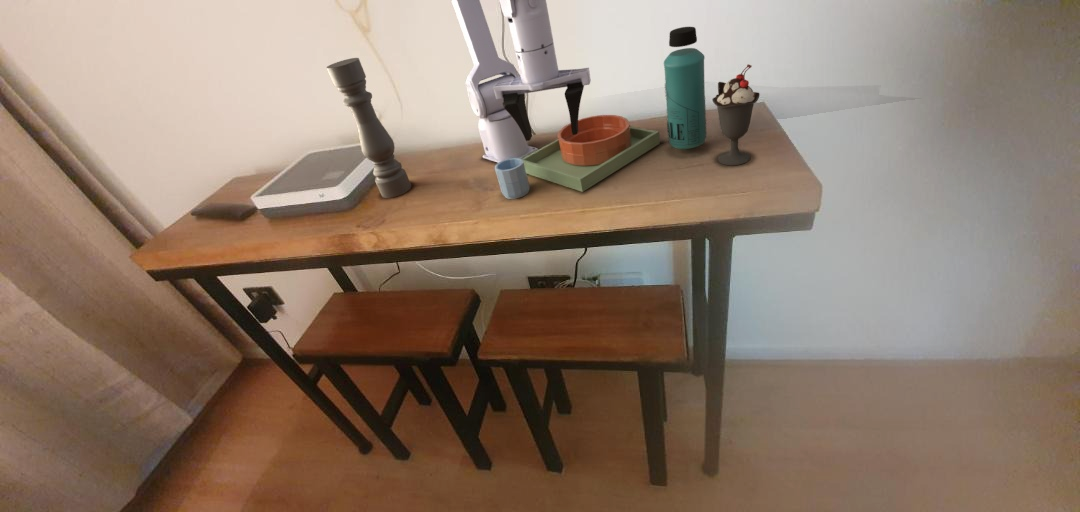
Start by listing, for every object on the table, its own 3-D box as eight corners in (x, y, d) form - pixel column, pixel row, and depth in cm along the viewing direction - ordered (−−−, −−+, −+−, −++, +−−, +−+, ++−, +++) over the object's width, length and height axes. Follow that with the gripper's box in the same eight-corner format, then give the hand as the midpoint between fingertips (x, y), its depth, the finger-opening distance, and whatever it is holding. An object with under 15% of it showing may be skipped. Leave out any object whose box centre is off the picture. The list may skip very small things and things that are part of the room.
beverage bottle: (711, 142, 85) (711, 20, 74) (700, 158, 81) (697, 32, 70) (675, 140, 88) (669, 24, 77) (662, 156, 84) (654, 36, 73)
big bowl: (548, 161, 93) (543, 137, 90) (595, 135, 99) (592, 111, 96) (598, 175, 84) (593, 148, 81) (646, 145, 89) (644, 119, 87)
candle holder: (384, 201, 94) (326, 70, 80) (378, 190, 99) (323, 66, 85) (414, 189, 95) (362, 59, 81) (407, 179, 100) (357, 55, 86)
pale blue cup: (497, 195, 85) (488, 167, 82) (518, 183, 88) (511, 155, 85) (513, 202, 82) (506, 173, 79) (536, 189, 84) (529, 160, 81)
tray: (521, 171, 92) (518, 160, 90) (594, 130, 101) (593, 119, 99) (582, 192, 80) (580, 179, 78) (659, 143, 89) (659, 131, 88)
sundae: (760, 165, 75) (765, 67, 66) (714, 169, 77) (714, 74, 68) (753, 148, 80) (757, 54, 72) (710, 152, 82) (710, 61, 73)
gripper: (479, 62, 68) (503, 151, 76) (580, 44, 64) (594, 139, 72) (492, 50, 73) (513, 133, 81) (585, 32, 70) (598, 122, 77)
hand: (552, 135), depth 77 cm, fingers open, 7 cm apart
